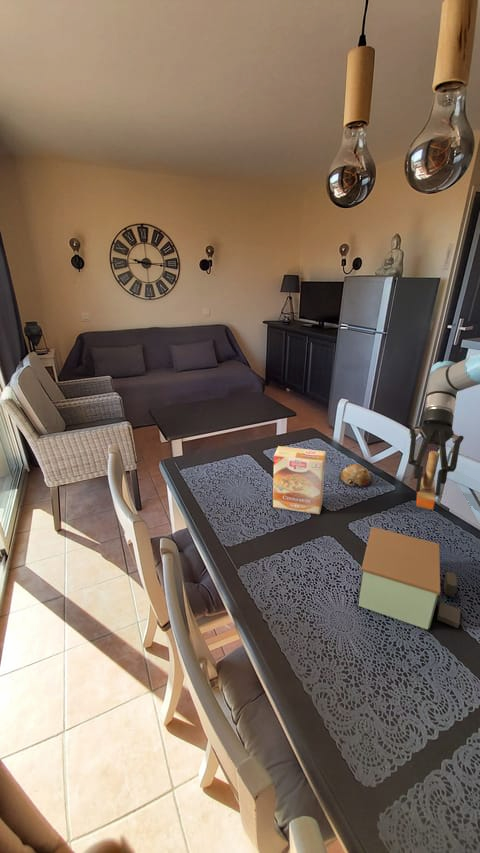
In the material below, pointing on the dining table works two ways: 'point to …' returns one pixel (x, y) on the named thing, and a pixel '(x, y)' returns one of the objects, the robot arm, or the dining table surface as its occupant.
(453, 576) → the block
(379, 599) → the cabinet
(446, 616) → the dust pad
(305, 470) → the coffeecake box
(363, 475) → the bread roll
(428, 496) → the brush
